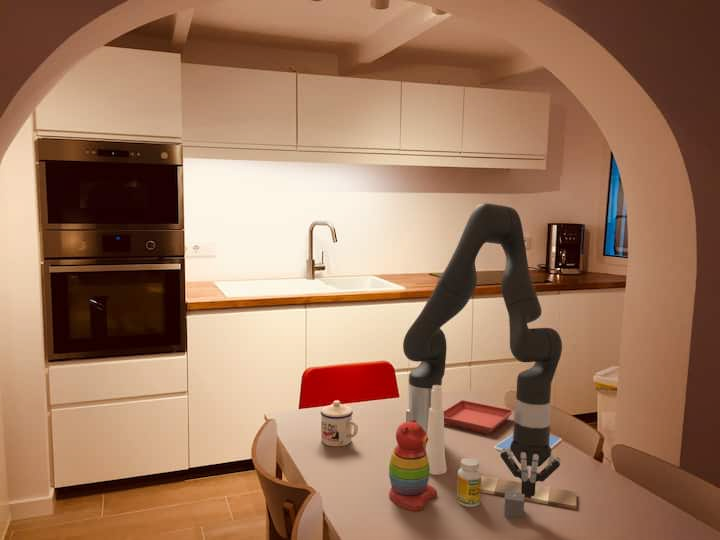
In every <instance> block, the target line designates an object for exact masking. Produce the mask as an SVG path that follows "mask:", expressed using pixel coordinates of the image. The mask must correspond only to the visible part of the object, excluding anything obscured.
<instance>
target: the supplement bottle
mask: <svg viewBox="0 0 720 540" xmlns="http://www.w3.org/2000/svg"><path fill="white" fill-rule="evenodd" d="M479 463H480V462H479V460H477V459H475V458H471V457H466V458H462V459H461V461H460V468H459V469H458V470H457V483H456V484H457V487H456V490H457V491H456V492H457V493H456V496H457V497H456V500H457V503H458V504H459V505H461V506H463V507H466V508H468V507H469V508H474V507H477V506H479V505H480V503H481V501H482V500H481V498H482V497H481V496H482V492H481V476H482V472H481V470H480V469H479V468H480V467H479V466H480V464H479Z"/></svg>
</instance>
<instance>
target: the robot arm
mask: <svg viewBox="0 0 720 540" xmlns="http://www.w3.org/2000/svg"><path fill="white" fill-rule="evenodd" d="M524 236H525V235H524V230H523V224H522V221H521V216H520V215H519V213H518V211H517V210H516V209H515V208H513V207H510V206H507V205H501V204H493V203H487V202H485V203H484V202H483V203H480V204H478V205H477V206H476V207H474V208H473V210H472V212H471V213H470V215H469V218H468V219H467V222H466V224H465V227H464V229H463V232H462V234H461V236H460V239H459V241H458V242H457V243H458V244H457V245H456V248H455V250H454V252H453V254H452V256H451V258H450V260H449V262H448V263H447V266H446V267H445V269H444V271H443V272H442V273H441V276H440V278H438V281H437V283H436V285H435V287H434V289H433V291H432V293H431V295H430V297H429V298H428V300H427V301H426V303H425V305H424V306H423V308H422V310H421V312H419V313H420V314H418V316H417V317H416V319H415V320H414V322H413V323H412V325H411V326H410V327H409V328H408V330H407V332H406V334H405V336H404V338H403V343H402V348H403V354H404V355H405V357H406V358H407V360H409V361H412V362H416V363H417V362H420V363H419V364H418V366H417V367H415V368H414V369H413V370H412V371H410V372H409V375H408V402H407V404H408V407H407V409H406V411H405V422H410V421H411V420H412V419H414V420H415V423H418V424H419V425H421V427H422V428H423V429H424V431H425V432H426V433H427V431H428V417H429V408H430V407H431V390H432V389H433V385H440V386H441V390H443V389H442V387H443V385H442V384H443V378H444V375H445V370H446V359H447V350H448V349H447V338H446V335H445V333H444V331H443V330H442V326H444V325H445V324H446V323H448V322H449V321H450V320H452V319H453V318H454V317H455V316H457V315H458V314H459V313H461V311H462V310H463V309H464V308H465V307H466V306H467V304H468V303H469V301H470V299H471V298H472V296H473V294H474V292H475V290H476V288H477V285H478V284H477V283H478V278H477V277H478V275H477V270H476V269H477V268H476V260H477V257H478V254H479V253H480V250H481V248H482V247H483V245H485V244H486V243H487V244H496V245H500V246H501V247H502V249H503V252H504V254H505V259H506V263H505V268H504V271H503V274H502V279H501V295H502V298H503V301H504V304H505V307H506V310H507V314H508V321H509V322H508V323H509V349H510V351H511V354H512V357H514V358H515V359H516V360H517V361H519V362H520V363H534V364H533V366H532V367H530V368H527V369H526V370H522V371H521V372H519V373H518V375H517V377H516V378H517V379H516V394H515V395H516V396H515V403H514V404H515V405H514V410H513V413H514V414H513V428H512V429H513V430H512V431H513V433H512V434H513V441H512V443H511V445H510V447H509V448H508V449H503V450H502V452H501V451H500V458H501V460H502V461H503V462H504V464H505V466H506V467H507V468H508V470H509V471H510V472H511V474H512V475H513V477H515V478H519V479H520V480H521V482H522V487H521V493H522V494H524V497H525V498H531V496H534V495H535V486H536V485H537V484H536V483H537V482H542V483H543V482H544V481H546V479H548V478H549V477H550V476H551V475H552V474H553V473H554V472H555V471H556V470H557V469H559V468H560V466H561V459H560V457H558V456H557V457H556V456H555V455H554V454H553V453H552V449H551V448H550V446H549V439H550V435H551V433H550V432H551V421H552V410H551V409H552V407H551V398H552V397H551V396H552V395H551V394H552V382H553V379H554V376H555V373H556V370H557V368H558V365H559V362H560V360H561V356H562V351H563V342H562V338H561V336H560V334H559V332H557V330H555V329H554V328H552V327H551V328H550V327H537V328H535V327H533V328H529V326H528V324H529V323H532V322H534V321H536V320H537V319H539V318H541V315H542V307H541V304H540V301H539V298H538V295H537V292H536V289H535V285H534V283H533V280H532V277H531V273H530V272H531V271H530V270H529V269H530V268H529V261H528V256H527V250H526V241H525V237H524ZM424 448H425V449H426V445H425V446H424ZM512 453H513V454H514V455H513V454H512ZM513 456H514V457H515V459H516V460H517V462H518V463H519V465H520V467H519V466H518V464H517V463H516V461H515V460H514V458H513ZM546 461H547V465H546V466H544V468H543V469H542V470H540V471H539V472H538V468H539V467H542V465H543V464H544V463H545V462H546ZM529 467H530V475H529Z"/></svg>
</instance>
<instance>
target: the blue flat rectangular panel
mask: <svg viewBox="0 0 720 540" xmlns="http://www.w3.org/2000/svg"><path fill="white" fill-rule="evenodd" d="M512 441H513V433H512V434H511V435H509V436H508V437H506V438H505V439H503V440H502V441H501V442H499V443H497V444H496V445H495V446H494V450H496V451H498V452H500V453H501V452H502V450H503V449H508V448H509V447H510V445H511V443H512ZM561 442H562V438H561V437H559V436H554V435H552V434H550V439H549V446H550V448H551V450H552V449H553V448H554V447H555V446H557V445H559V443H561ZM512 454H513V453H512ZM513 456H514V454H513Z"/></svg>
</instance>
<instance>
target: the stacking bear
mask: <svg viewBox="0 0 720 540" xmlns="http://www.w3.org/2000/svg"><path fill="white" fill-rule="evenodd" d="M395 431H396V432H395V438H396V443H397V445H396V446H395V447H394V449H393V450H392V453H391V456H390V460H389V466H388V476H389V480H390V486H391V487H390V490H389V492H388V496H389V498H390V500H391V501H392V502H393V503H395V504H396V505H397V506H399V507H401V508H402V509H403V508H404V509H406V510H409V511H413V512H419V511H422V510H424V509H425V508H426V507H425V504H426V502H427V501H428V500H429V501H430V500H432V499H435V498H436V497H437V496H438V492H437V490H436V488H435V487H434V486H432V485H430V484H428V483H429V480H430V475H431V474H430V467H429V462H428V457H427V453H426V448H424V446H425V445H426V444H427V442H428V435H427V433H426V432H425V431H424V429H423V428H422V427H421V425H419V424H418V423H415V420H414V419H412V420H411V421H410V422H406V421H405V422H403V423H401V424H400V425H399V426H398V427H397V429H396V430H395Z"/></svg>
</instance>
